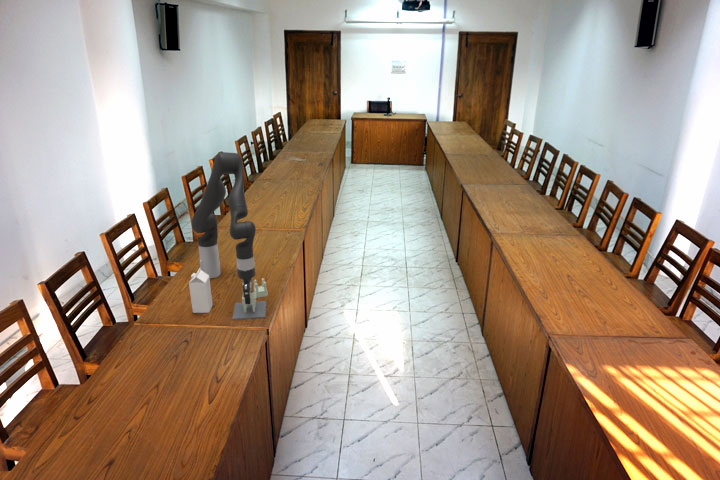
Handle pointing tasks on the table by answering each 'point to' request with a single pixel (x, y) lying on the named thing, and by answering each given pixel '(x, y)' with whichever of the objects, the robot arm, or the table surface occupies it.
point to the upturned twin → (260, 289)
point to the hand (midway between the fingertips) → (248, 299)
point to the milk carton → (200, 292)
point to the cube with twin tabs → (252, 300)
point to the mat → (250, 311)
